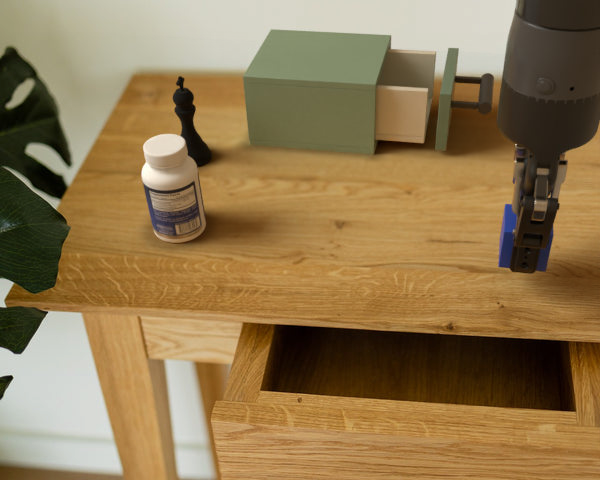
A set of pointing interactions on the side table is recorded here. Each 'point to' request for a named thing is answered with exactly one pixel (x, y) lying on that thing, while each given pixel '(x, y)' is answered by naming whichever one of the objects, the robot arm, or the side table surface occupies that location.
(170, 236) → the pill bottle
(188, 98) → the chess piece
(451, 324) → the side table surface
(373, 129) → the green drawer cabinet
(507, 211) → the blue rectangular box
